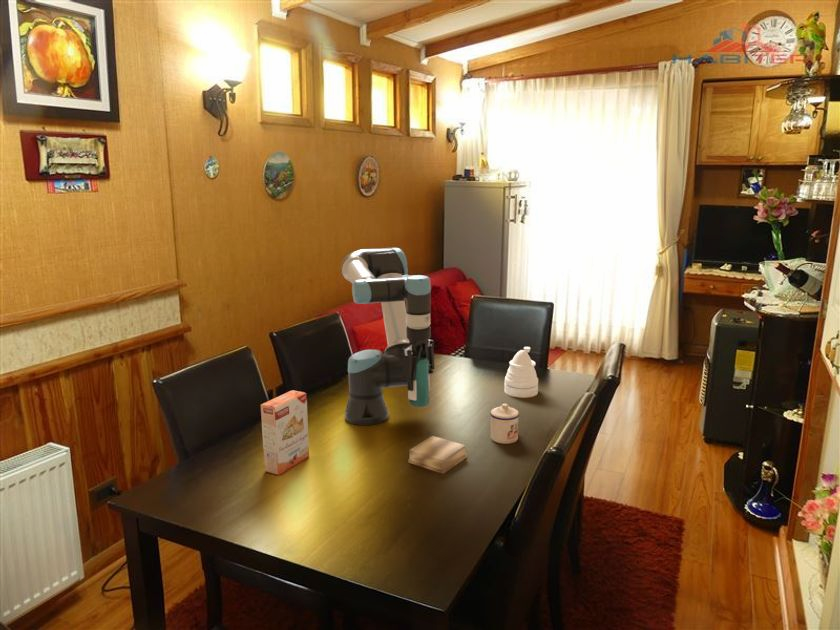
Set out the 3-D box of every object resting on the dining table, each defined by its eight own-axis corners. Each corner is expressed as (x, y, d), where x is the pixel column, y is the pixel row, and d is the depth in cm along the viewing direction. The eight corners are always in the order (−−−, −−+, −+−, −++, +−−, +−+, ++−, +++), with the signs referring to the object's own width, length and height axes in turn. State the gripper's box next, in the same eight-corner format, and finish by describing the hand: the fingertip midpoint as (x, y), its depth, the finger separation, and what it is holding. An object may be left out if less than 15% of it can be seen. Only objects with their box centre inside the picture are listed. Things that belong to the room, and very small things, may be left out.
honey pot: (543, 389, 244) (544, 345, 240) (530, 399, 233) (531, 353, 229) (512, 383, 251) (513, 340, 246) (498, 393, 240) (499, 348, 236)
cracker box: (279, 476, 178) (275, 407, 173) (263, 472, 181) (258, 404, 176) (311, 456, 190) (307, 392, 185) (295, 452, 193) (291, 388, 188)
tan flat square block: (408, 462, 185) (407, 450, 184) (432, 447, 195) (432, 435, 194) (443, 474, 178) (443, 461, 177) (466, 457, 188) (466, 445, 187)
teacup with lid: (511, 446, 195) (512, 411, 192) (485, 440, 199) (485, 406, 197) (526, 432, 205) (527, 399, 202) (500, 427, 209) (501, 394, 207)
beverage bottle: (432, 405, 201) (432, 346, 196) (424, 413, 195) (423, 352, 190) (414, 402, 204) (413, 343, 198) (405, 409, 198) (404, 349, 193)
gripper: (409, 335, 183) (410, 408, 189) (446, 320, 198) (445, 389, 204) (389, 331, 187) (390, 403, 193) (426, 317, 202) (427, 384, 208)
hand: (419, 395), depth 198 cm, fingers closed on beverage bottle, 6 cm apart
